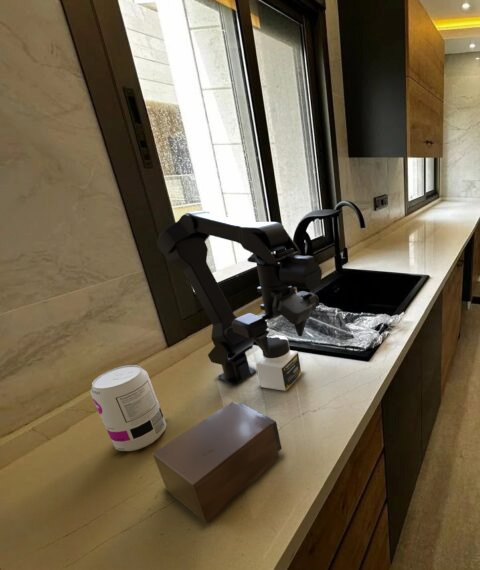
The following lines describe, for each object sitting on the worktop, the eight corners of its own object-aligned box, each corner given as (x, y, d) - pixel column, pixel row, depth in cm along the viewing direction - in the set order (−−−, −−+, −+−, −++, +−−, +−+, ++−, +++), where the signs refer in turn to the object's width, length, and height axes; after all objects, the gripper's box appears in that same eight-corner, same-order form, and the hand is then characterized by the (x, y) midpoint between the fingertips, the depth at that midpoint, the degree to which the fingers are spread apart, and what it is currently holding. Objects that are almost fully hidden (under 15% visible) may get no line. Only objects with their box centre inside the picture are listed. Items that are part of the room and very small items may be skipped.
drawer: (252, 424, 69) (246, 399, 66) (286, 444, 64) (281, 417, 62) (181, 477, 57) (171, 448, 55) (217, 505, 53) (207, 474, 50)
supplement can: (109, 460, 61) (79, 396, 56) (122, 429, 68) (97, 370, 63) (162, 444, 65) (139, 382, 59) (170, 416, 72) (149, 359, 66)
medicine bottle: (286, 391, 80) (278, 349, 75) (260, 387, 81) (251, 345, 77) (302, 374, 86) (295, 334, 82) (277, 370, 88) (270, 331, 83)
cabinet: (240, 435, 67) (232, 401, 64) (279, 458, 62) (272, 423, 59) (166, 490, 56) (152, 453, 53) (206, 523, 51) (192, 484, 48)
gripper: (260, 306, 59) (273, 377, 65) (333, 276, 74) (338, 336, 80) (223, 294, 64) (238, 361, 70) (299, 268, 79) (306, 325, 85)
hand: (284, 344), depth 76 cm, fingers open, 9 cm apart
